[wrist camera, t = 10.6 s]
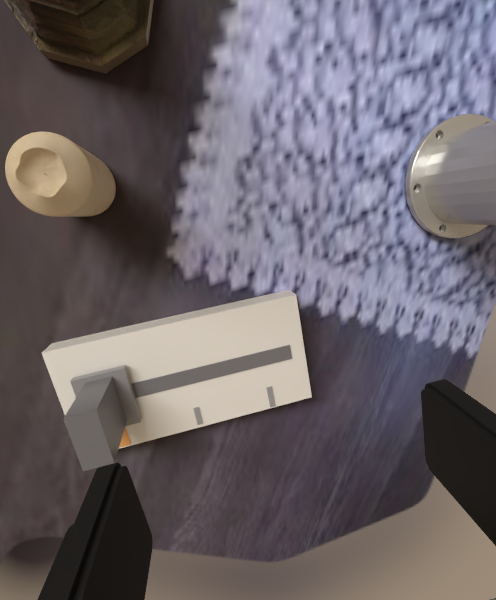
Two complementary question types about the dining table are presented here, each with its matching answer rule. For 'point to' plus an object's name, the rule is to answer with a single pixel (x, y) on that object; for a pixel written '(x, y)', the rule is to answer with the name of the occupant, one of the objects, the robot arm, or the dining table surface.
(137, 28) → the bird statue
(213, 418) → the fader console
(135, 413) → the fader tab
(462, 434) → the robot arm
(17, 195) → the candle
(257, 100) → the dining table surface
